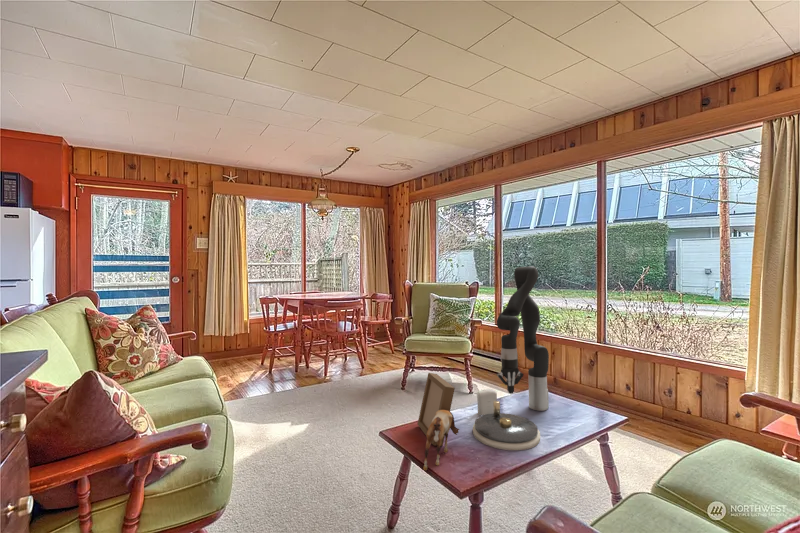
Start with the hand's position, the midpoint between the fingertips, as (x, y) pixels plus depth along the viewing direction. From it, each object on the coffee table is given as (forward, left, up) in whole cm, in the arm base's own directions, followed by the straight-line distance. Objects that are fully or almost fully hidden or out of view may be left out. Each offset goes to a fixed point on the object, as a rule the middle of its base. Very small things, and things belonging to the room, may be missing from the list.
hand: (510, 392), depth 178 cm
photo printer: (+2, -14, -15) cm, 20 cm away
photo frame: (+36, -8, -15) cm, 40 cm away
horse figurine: (+47, +11, -15) cm, 50 cm away
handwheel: (+11, +8, -12) cm, 18 cm away
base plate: (+11, +8, -14) cm, 20 cm away
